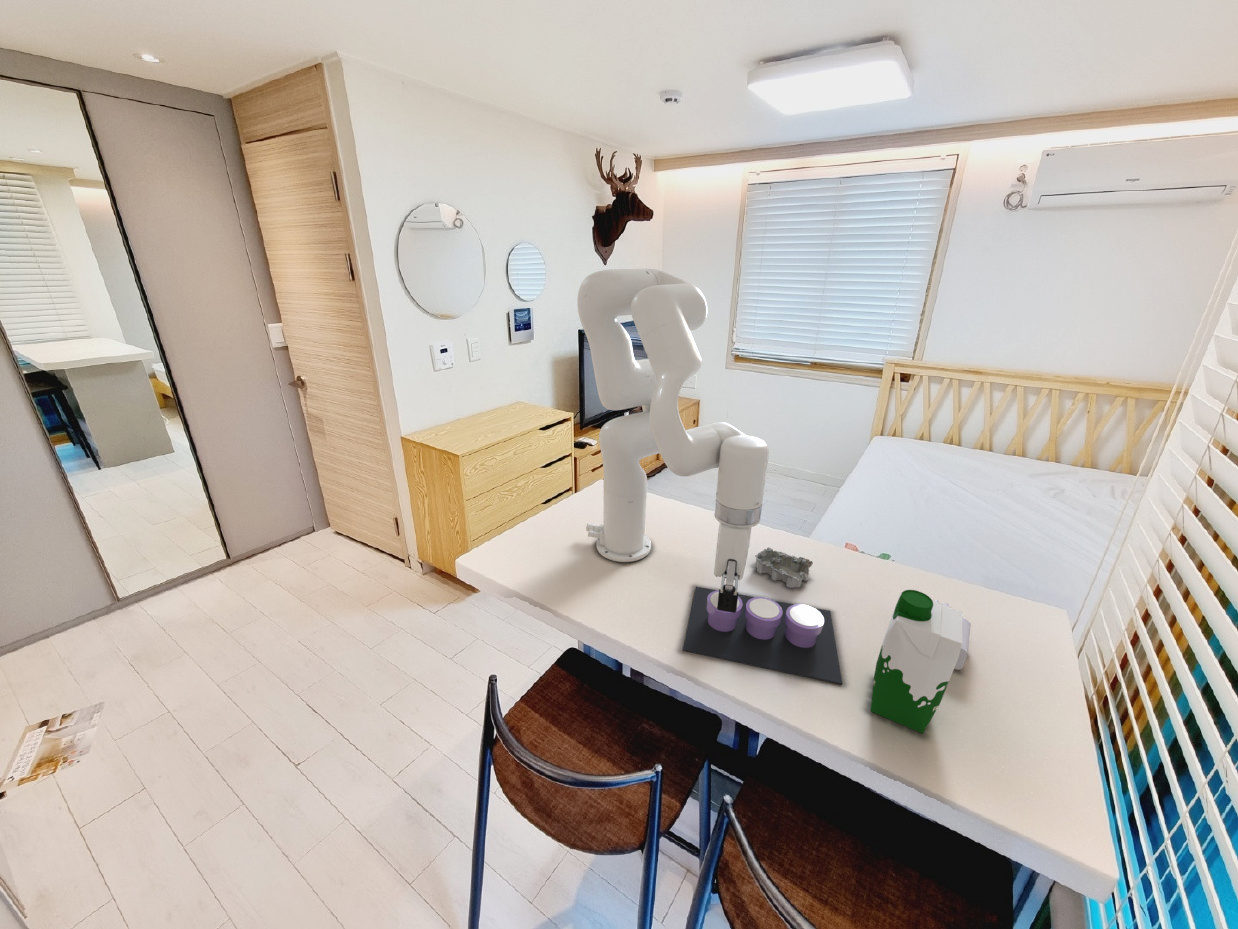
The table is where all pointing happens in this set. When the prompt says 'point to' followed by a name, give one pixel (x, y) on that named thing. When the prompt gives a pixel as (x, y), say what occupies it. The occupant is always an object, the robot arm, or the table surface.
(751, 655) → the placemat
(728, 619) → the purple short cylinder
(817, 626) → the dish right
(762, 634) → the dish middle
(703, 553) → the table surface
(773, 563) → the egg carton
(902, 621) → the milk carton
